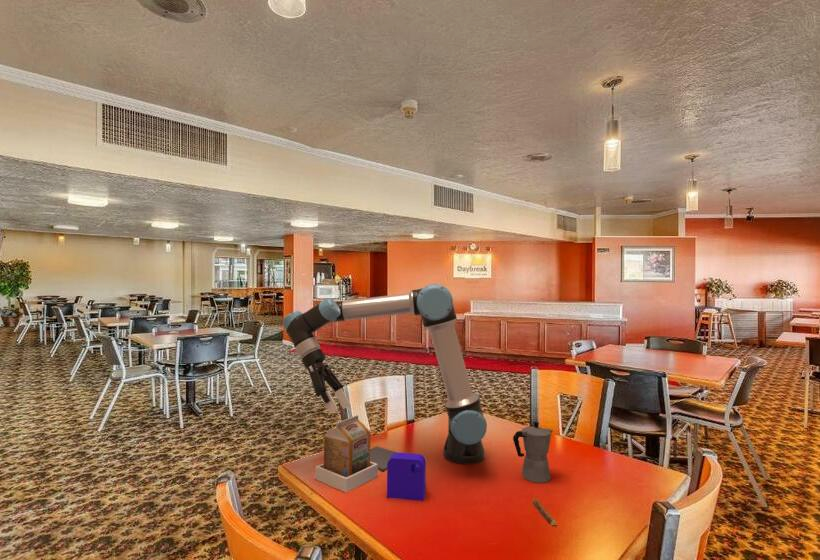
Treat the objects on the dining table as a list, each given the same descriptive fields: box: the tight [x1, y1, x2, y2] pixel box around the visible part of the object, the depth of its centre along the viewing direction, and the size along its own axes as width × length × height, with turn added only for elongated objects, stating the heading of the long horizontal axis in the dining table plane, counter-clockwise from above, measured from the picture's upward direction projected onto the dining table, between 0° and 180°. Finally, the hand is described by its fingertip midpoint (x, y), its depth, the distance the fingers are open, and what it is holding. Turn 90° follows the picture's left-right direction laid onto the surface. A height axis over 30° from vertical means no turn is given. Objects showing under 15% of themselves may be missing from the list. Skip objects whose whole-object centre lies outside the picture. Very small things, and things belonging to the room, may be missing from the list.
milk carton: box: [323, 414, 371, 477], centre depth 137 cm, size 11×11×19 cm
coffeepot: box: [512, 421, 554, 484], centre depth 138 cm, size 15×9×18 cm, turn 110°
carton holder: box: [314, 461, 379, 493], centre depth 136 cm, size 14×14×4 cm
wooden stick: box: [531, 496, 558, 526], centre depth 115 cm, size 3×12×2 cm, turn 7°
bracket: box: [386, 451, 427, 502], centre depth 132 cm, size 18×11×12 cm, turn 171°
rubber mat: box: [370, 445, 396, 472], centre depth 152 cm, size 16×14×1 cm
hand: (340, 409), depth 138 cm, fingers open, 13 cm apart
